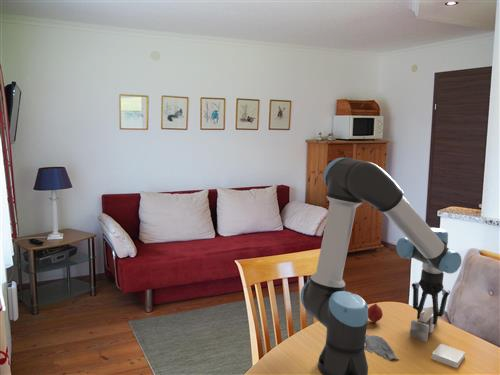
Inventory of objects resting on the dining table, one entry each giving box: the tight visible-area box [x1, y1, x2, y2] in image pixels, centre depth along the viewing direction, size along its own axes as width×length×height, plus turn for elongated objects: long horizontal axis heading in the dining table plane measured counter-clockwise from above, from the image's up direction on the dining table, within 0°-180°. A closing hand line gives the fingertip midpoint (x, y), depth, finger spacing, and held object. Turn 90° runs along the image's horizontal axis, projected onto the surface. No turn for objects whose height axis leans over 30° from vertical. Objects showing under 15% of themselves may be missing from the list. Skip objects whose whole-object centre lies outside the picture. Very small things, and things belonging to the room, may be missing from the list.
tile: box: [431, 343, 466, 369], centre depth 149 cm, size 8×2×9 cm
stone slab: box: [364, 334, 399, 361], centre depth 154 cm, size 18×2×10 cm
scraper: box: [409, 306, 440, 342], centre depth 167 cm, size 6×18×6 cm, turn 142°
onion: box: [368, 303, 384, 324], centre depth 171 cm, size 6×6×8 cm
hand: (425, 329), depth 168 cm, fingers open, 3 cm apart
